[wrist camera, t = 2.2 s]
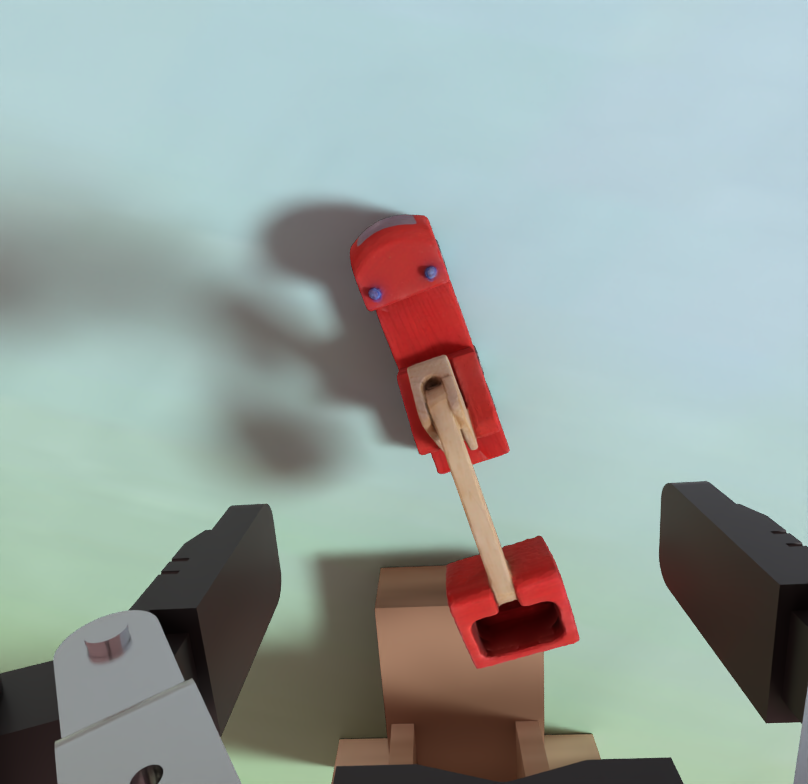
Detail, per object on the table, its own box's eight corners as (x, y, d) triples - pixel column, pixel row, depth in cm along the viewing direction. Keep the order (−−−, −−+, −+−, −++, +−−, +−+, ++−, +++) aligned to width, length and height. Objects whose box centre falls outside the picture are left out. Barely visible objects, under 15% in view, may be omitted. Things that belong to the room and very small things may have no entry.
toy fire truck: (427, 206, 22) (426, 177, 12) (529, 504, 25) (589, 660, 16) (349, 237, 22) (291, 231, 13) (459, 526, 25) (477, 690, 16)
